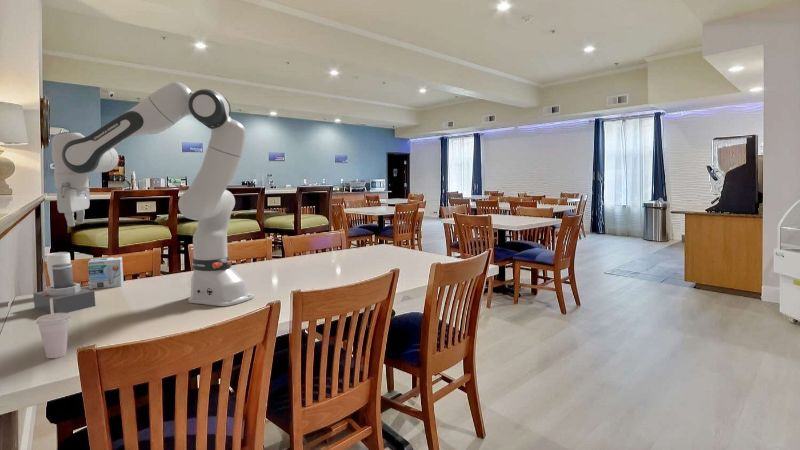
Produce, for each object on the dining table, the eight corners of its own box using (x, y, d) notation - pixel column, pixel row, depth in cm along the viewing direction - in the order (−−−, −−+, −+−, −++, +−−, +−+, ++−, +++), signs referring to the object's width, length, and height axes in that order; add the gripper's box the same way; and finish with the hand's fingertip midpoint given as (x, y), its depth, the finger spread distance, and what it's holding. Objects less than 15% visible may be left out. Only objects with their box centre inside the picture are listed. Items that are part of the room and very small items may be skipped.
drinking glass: (60, 297, 153) (56, 255, 151) (44, 296, 154) (40, 255, 152) (77, 292, 159) (74, 252, 158) (62, 291, 161) (59, 251, 159)
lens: (74, 289, 145) (72, 262, 144) (73, 292, 141) (70, 265, 140) (55, 291, 143) (53, 264, 142) (53, 294, 138) (50, 267, 137)
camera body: (95, 305, 144) (93, 285, 143) (56, 314, 134) (55, 292, 133) (73, 299, 150) (71, 280, 149) (34, 308, 141) (32, 287, 140)
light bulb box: (89, 289, 164) (86, 261, 163) (91, 285, 170) (89, 258, 169) (122, 286, 169) (120, 259, 168) (124, 282, 175) (122, 256, 174)
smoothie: (67, 348, 109) (63, 293, 107) (77, 354, 105) (73, 298, 103) (35, 356, 103) (30, 299, 102) (44, 363, 100) (39, 304, 98)
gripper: (73, 182, 133) (78, 227, 135) (92, 182, 152) (95, 221, 154) (48, 183, 131) (53, 228, 133) (70, 182, 150) (74, 222, 151)
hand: (76, 224), depth 143 cm, fingers open, 8 cm apart
